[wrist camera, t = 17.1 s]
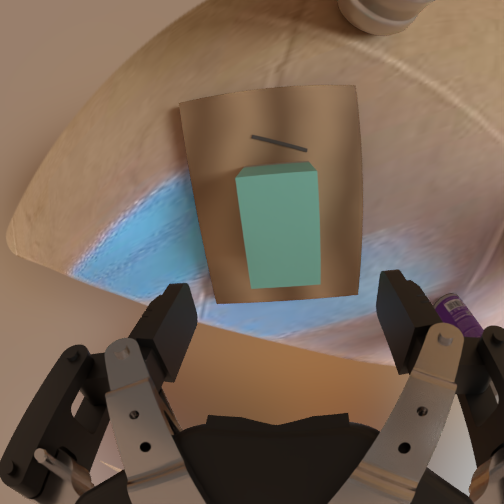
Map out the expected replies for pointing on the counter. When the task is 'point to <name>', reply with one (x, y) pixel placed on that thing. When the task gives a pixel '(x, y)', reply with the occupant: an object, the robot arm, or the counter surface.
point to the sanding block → (280, 223)
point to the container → (460, 319)
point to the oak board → (268, 152)
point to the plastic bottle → (382, 14)
